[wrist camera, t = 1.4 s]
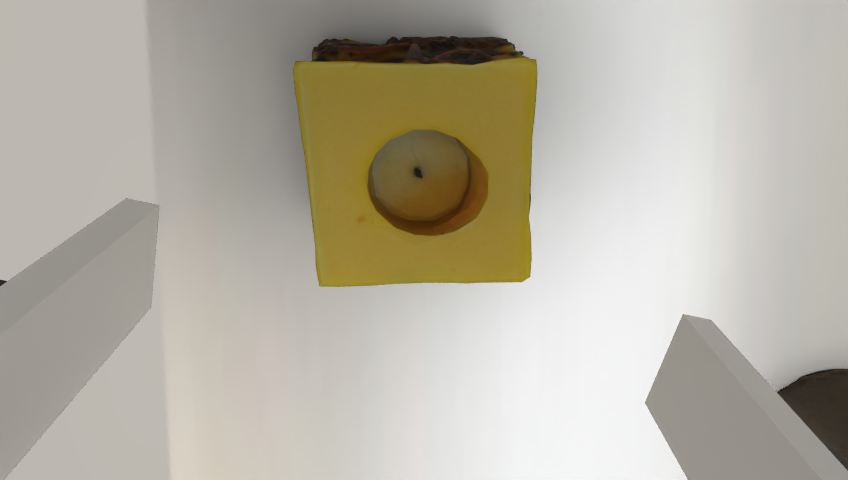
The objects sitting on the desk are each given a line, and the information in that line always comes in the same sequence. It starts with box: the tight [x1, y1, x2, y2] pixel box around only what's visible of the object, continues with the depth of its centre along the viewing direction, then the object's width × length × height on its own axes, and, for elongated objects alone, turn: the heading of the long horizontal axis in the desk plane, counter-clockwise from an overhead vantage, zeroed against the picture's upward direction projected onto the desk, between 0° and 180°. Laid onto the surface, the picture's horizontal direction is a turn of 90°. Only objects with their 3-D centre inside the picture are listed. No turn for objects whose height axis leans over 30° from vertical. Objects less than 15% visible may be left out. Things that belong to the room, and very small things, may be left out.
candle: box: [293, 36, 537, 287], centre depth 31 cm, size 10×10×10 cm
